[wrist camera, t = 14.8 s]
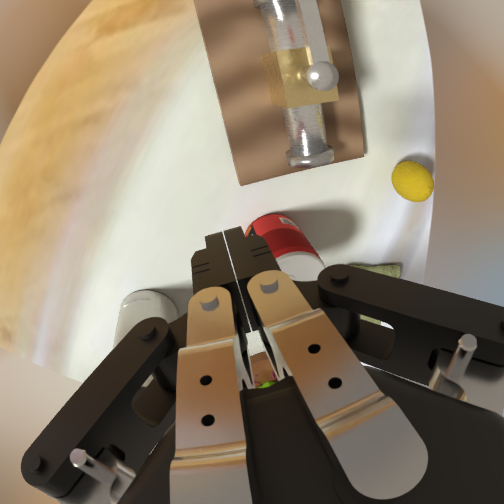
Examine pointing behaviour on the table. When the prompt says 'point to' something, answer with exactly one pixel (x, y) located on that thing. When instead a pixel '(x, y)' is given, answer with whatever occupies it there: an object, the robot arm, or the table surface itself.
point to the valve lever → (315, 47)
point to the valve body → (295, 85)
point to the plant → (262, 371)
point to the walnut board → (257, 92)
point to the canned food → (288, 246)
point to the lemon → (412, 181)
